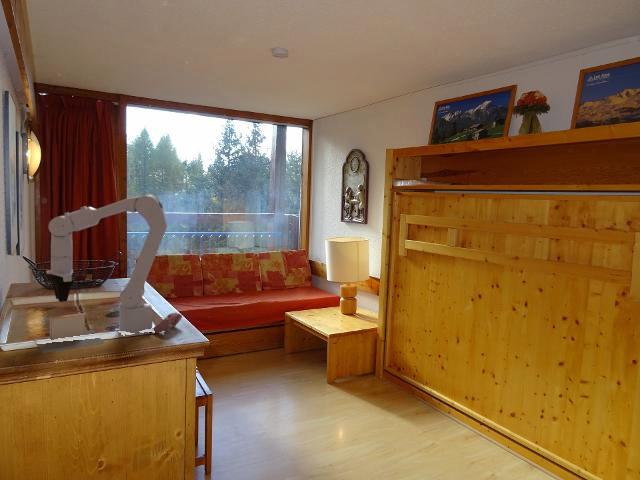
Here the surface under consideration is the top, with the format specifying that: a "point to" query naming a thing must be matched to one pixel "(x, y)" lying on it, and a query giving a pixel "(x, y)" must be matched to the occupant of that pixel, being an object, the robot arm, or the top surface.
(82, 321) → the tile
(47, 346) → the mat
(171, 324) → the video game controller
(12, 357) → the top surface
